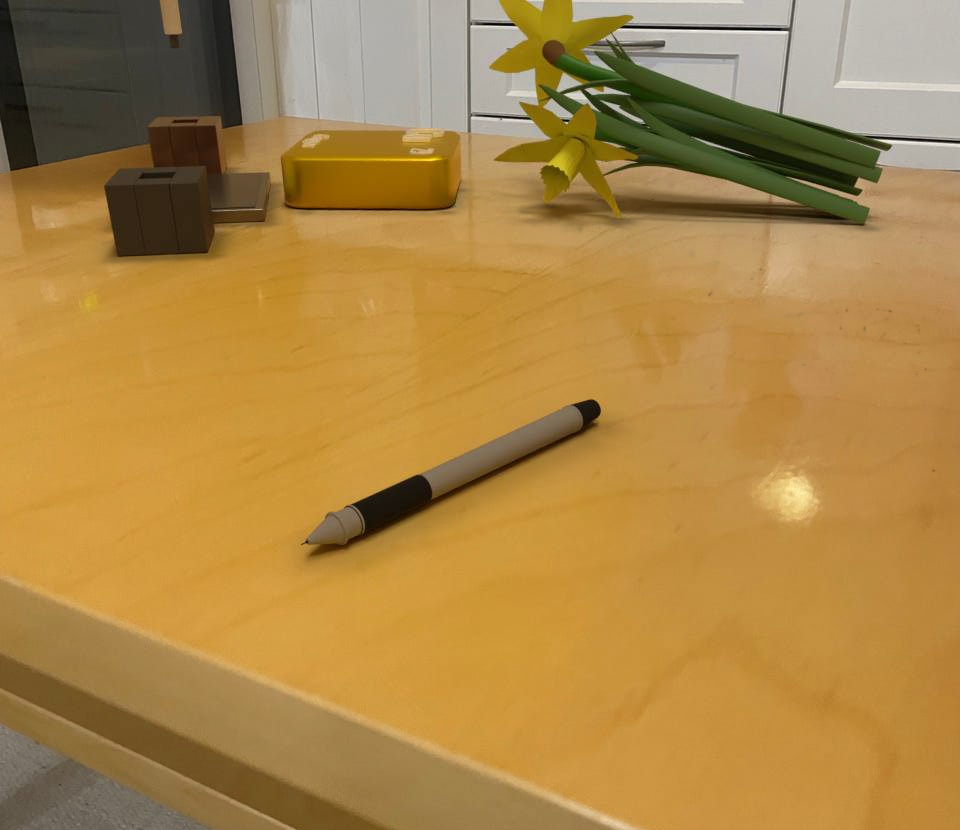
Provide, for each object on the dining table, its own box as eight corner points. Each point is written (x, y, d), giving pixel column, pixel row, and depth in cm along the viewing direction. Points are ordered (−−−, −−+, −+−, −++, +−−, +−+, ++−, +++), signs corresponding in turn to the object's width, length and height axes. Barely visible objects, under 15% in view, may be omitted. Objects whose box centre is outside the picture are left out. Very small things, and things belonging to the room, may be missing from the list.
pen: (603, 425, 43) (605, 399, 43) (313, 568, 33) (310, 536, 32) (581, 417, 44) (583, 391, 43) (291, 553, 34) (287, 522, 33)
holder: (117, 256, 68) (103, 185, 66) (131, 234, 74) (119, 168, 71) (207, 252, 69) (197, 182, 67) (214, 231, 75) (205, 165, 72)
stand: (155, 180, 92) (146, 126, 90) (164, 168, 98) (156, 117, 95) (222, 178, 93) (215, 124, 91) (227, 166, 99) (220, 115, 96)
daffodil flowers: (877, 261, 70) (431, 117, 70) (808, 306, 85) (439, 186, 85) (944, 49, 70) (501, -94, 71) (864, 130, 85) (497, 12, 85)
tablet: (113, 227, 76) (111, 213, 75) (143, 186, 90) (141, 175, 89) (264, 221, 78) (263, 207, 77) (270, 182, 91) (269, 171, 91)
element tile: (313, 175, 94) (309, 124, 92) (462, 176, 94) (461, 125, 92) (280, 209, 81) (274, 151, 79) (453, 210, 81) (452, 152, 78)
